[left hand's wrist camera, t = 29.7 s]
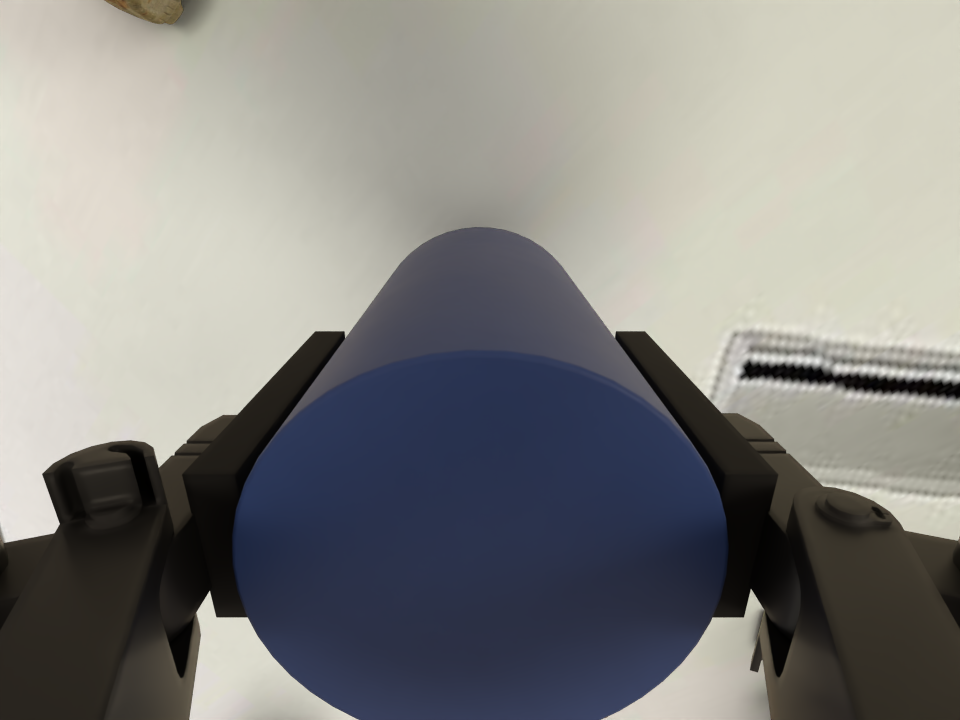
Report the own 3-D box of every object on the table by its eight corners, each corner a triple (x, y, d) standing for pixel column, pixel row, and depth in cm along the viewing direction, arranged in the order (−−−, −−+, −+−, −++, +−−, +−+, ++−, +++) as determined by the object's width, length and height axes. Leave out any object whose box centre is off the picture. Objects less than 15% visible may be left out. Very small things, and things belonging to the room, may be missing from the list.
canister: (380, 217, 17) (204, 327, 6) (597, 237, 17) (797, 376, 6) (376, 412, 19) (247, 734, 9) (565, 427, 20) (669, 758, 9)
